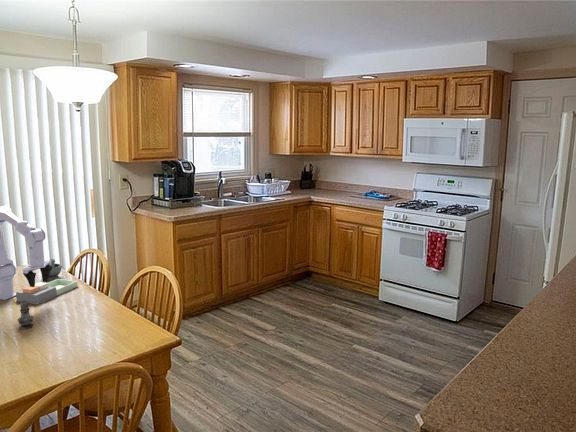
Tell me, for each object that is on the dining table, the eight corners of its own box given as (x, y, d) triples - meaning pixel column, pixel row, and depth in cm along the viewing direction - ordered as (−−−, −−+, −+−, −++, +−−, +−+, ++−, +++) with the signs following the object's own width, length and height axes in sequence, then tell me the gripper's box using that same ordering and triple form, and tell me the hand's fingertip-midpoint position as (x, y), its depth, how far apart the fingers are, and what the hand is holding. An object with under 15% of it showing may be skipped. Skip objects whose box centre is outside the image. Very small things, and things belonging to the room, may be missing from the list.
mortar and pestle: (41, 277, 259) (39, 255, 257) (60, 274, 264) (58, 253, 262) (44, 282, 250) (42, 260, 248) (63, 279, 255) (62, 258, 253)
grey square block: (16, 301, 223) (15, 292, 222) (36, 293, 235) (36, 284, 234) (37, 304, 220) (36, 295, 219) (56, 296, 231) (55, 287, 230)
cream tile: (32, 289, 227) (31, 285, 227) (40, 285, 232) (39, 281, 231) (40, 290, 226) (40, 286, 225) (48, 287, 230) (48, 283, 230)
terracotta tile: (22, 292, 222) (22, 288, 222) (31, 289, 227) (30, 285, 226) (31, 294, 220) (30, 289, 220) (39, 290, 225) (39, 286, 225)
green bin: (37, 292, 235) (37, 287, 234) (58, 284, 248) (58, 278, 248) (57, 295, 232) (56, 289, 231) (77, 286, 245) (77, 281, 244)
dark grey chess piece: (27, 330, 192) (24, 302, 190) (14, 328, 194) (12, 301, 191) (37, 324, 198) (35, 297, 196) (25, 323, 199) (22, 296, 197)
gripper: (31, 260, 207) (33, 290, 210) (55, 252, 221) (57, 280, 224) (18, 259, 209) (20, 288, 212) (43, 251, 223) (45, 278, 226)
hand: (38, 284), depth 218 cm, fingers open, 7 cm apart
